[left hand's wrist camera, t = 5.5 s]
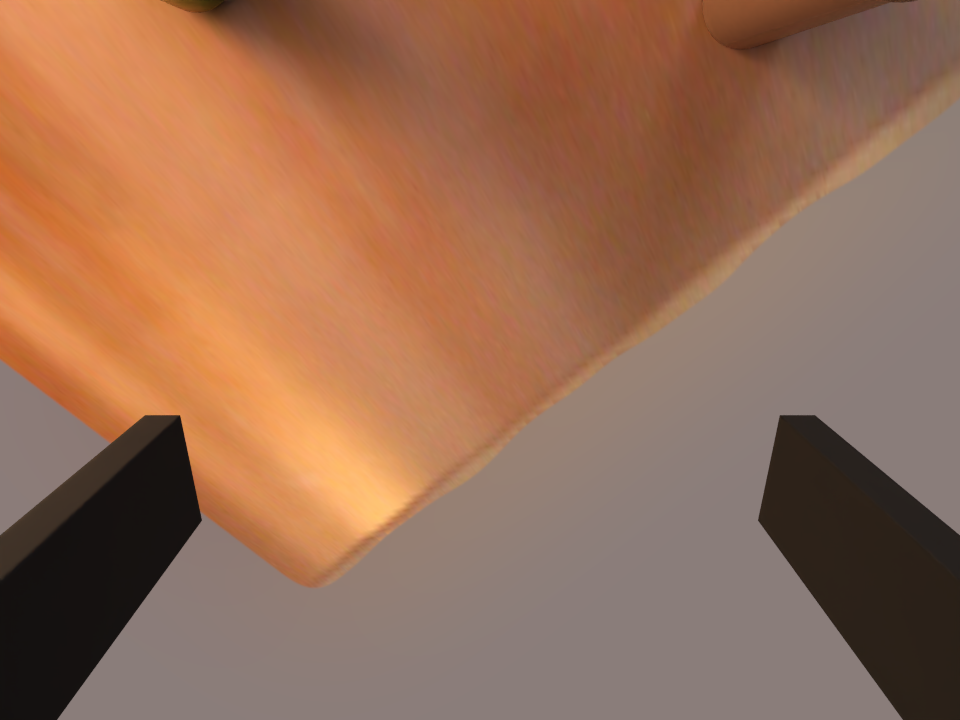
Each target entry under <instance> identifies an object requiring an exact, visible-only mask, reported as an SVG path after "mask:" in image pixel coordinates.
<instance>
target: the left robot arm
mask: <svg viewBox="0 0 960 720" xmlns="http://www.w3.org/2000/svg"><path fill="white" fill-rule="evenodd" d="M201 521H202V519H201V514H200V509H199V504H198V499H197V495H196V490H195V485H194V480H193V475H192V471H191V466H190V461H189V456H188V451H187V446H186V442H185V437H184V432H183V427H182V422H181V418H180V415H145V416H144V417H143V418H141V419H140V420H139V421H138V422H136V423H135V424H134V425H133V426H132V427H130V428H129V429H128V430H127V431H126V432H124V433H123V434H122V435H121V436H120V437H118V438H117V439H116V440H115V441H114V442H112V443H111V444H110V445H109V446H108V447H106V448H105V449H104V450H103V451H102V452H100V453H99V454H98V455H97V456H95V457H94V458H93V459H92V460H91V461H89V462H88V463H87V464H86V465H85V466H83V467H82V468H81V469H80V470H79V471H77V472H76V473H75V474H74V475H73V476H71V477H70V478H69V479H68V480H66V481H65V482H64V483H63V484H62V485H60V486H59V487H58V488H57V489H56V490H54V491H53V492H52V493H51V494H50V495H48V496H47V497H46V498H45V499H44V500H42V501H41V502H40V503H39V504H38V505H36V506H35V507H34V508H33V509H32V510H30V511H29V512H28V513H27V514H25V515H24V516H23V517H22V518H21V519H19V520H18V521H17V522H16V523H15V524H13V525H12V526H11V527H10V528H9V529H7V530H6V531H5V532H4V533H3V534H1V535H0V720H57V719H58V718H59V716H60V715H61V713H62V712H63V711H64V709H65V708H66V707H67V705H68V704H69V702H70V701H71V700H72V698H73V697H74V696H75V694H76V693H77V691H78V690H79V689H80V687H81V686H82V685H83V683H84V682H85V680H86V679H87V678H88V676H89V675H90V673H91V672H92V671H93V669H94V668H95V667H96V665H97V664H98V663H99V661H100V660H101V658H102V657H103V656H104V654H105V653H106V652H107V650H108V649H109V647H110V646H111V645H112V643H113V642H114V641H115V639H116V638H117V636H118V635H119V634H120V632H121V631H122V630H123V628H124V627H125V625H126V624H127V623H128V621H129V620H130V619H131V617H132V616H133V614H134V613H135V612H136V610H137V609H138V608H139V606H140V605H141V603H142V602H143V601H144V599H145V598H146V597H147V595H148V594H149V592H150V591H151V590H152V588H153V587H154V586H155V584H156V583H157V581H158V580H159V579H160V577H161V576H162V574H163V573H164V572H165V570H166V569H167V568H168V566H169V565H170V564H171V562H172V561H173V559H174V558H175V557H176V555H177V554H178V553H179V551H180V550H181V548H182V547H183V546H184V544H185V543H186V542H187V540H188V539H189V537H190V536H191V535H192V533H193V532H194V530H195V529H196V528H197V526H198V525H199V524H200V522H201ZM758 521H759V522H760V524H761V525H762V526H763V528H764V529H765V530H766V532H767V533H768V535H769V536H770V537H771V539H772V540H773V542H774V543H775V544H776V546H777V547H778V548H779V550H780V551H781V553H782V554H783V555H784V557H785V558H786V559H787V561H788V562H789V564H790V565H791V566H792V568H793V569H794V570H795V572H796V573H797V575H798V576H799V577H800V579H801V580H802V581H803V583H804V584H805V586H806V587H807V588H808V590H809V591H810V592H811V594H812V595H813V597H814V598H815V599H816V601H817V602H818V603H819V605H820V606H821V608H822V609H823V610H824V612H825V613H826V614H827V616H828V617H829V619H830V620H831V621H832V623H833V624H834V625H835V627H836V628H837V630H838V631H839V632H840V634H841V635H842V636H843V638H844V639H845V641H846V642H847V643H848V645H849V646H850V647H851V649H852V650H853V652H854V653H855V654H856V656H857V657H858V658H859V660H860V661H861V663H862V664H863V665H864V667H865V668H866V669H867V671H868V672H869V674H870V675H871V676H872V678H873V679H874V680H875V682H876V683H877V685H878V686H879V687H880V689H881V690H882V691H883V693H884V694H885V696H886V697H887V698H888V700H889V701H890V702H891V704H892V705H893V707H894V708H895V709H896V711H897V712H898V713H899V715H900V716H901V718H902V719H903V720H960V535H959V534H957V533H956V532H955V531H954V530H953V529H951V528H950V527H949V526H948V525H947V524H945V523H944V522H943V521H942V520H941V519H939V518H938V517H937V516H936V515H935V514H933V513H932V512H931V511H930V510H929V509H927V508H926V507H925V506H924V505H922V504H921V503H920V502H919V501H918V500H916V499H915V498H914V497H913V496H912V495H910V494H909V493H908V492H907V491H906V490H904V489H903V488H902V487H901V486H900V485H898V484H897V483H896V482H895V481H893V480H892V479H891V478H890V477H889V476H887V475H886V474H885V473H884V472H883V471H881V470H880V469H879V468H878V467H877V466H875V465H874V464H873V463H872V462H870V461H869V460H868V459H867V458H866V457H865V456H863V455H862V454H861V453H860V452H858V451H857V450H856V449H855V448H854V447H852V446H851V445H850V444H849V443H848V442H846V441H845V440H844V439H843V438H842V437H840V436H839V435H838V434H837V433H836V432H834V431H833V430H832V429H831V428H830V427H828V426H827V425H826V424H825V423H823V422H822V421H821V420H820V419H819V418H817V417H816V416H815V415H780V418H779V422H778V427H777V432H776V437H775V442H774V447H773V451H772V456H771V461H770V466H769V471H768V475H767V480H766V485H765V490H764V495H763V499H762V504H761V509H760V514H759V519H758Z"/></svg>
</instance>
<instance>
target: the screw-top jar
mask: <svg viewBox="0 0 960 720" xmlns="http://www.w3.org/2000/svg"><path fill="white" fill-rule="evenodd" d="M887 3H890V2H889V1H884V0H703V5H702V9H703V17H704V21H705V24H706V26H707V28H708V30H709V32H710V34H711V35H712V36H713V37H714V38H715V39H716V41H718V42H719V43H720V44H722V45H724V46H726V47H729V48H732V49H739V50H743V49H750V48H754V47H757V46H760V45H763V44H766V43H769V42H772V41H775V40H778V39H781V38H784V37H787V36H790V35H793V34H796V33H799V32H802V31H805V30H808V29H811V28H814V27H817V26H820V25H823V24H826V23H829V22H833V21H836V20H839V19H842V18H845V17H848V16H851V15H854V14H857V13H860V12H863V11H866V10H869V9H872V8H875V7H878V6H881V5H884V4H887Z"/></svg>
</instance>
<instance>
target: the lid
mask: <svg viewBox="0 0 960 720" xmlns="http://www.w3.org/2000/svg"><path fill="white" fill-rule="evenodd" d="M884 1H889V2H911V1H916V0H884Z"/></svg>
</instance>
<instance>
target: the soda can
mask: <svg viewBox="0 0 960 720" xmlns="http://www.w3.org/2000/svg"><path fill="white" fill-rule="evenodd" d="M161 1H164V2H166V3H168V4H170V5H173V6H175V7H177V8H180V9H182V10H185V11H189V12H206V11H209V10H212V9H214V8H215V7H217V6H219V5H220V4H221V3H222V2H223V1H224V0H161Z"/></svg>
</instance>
